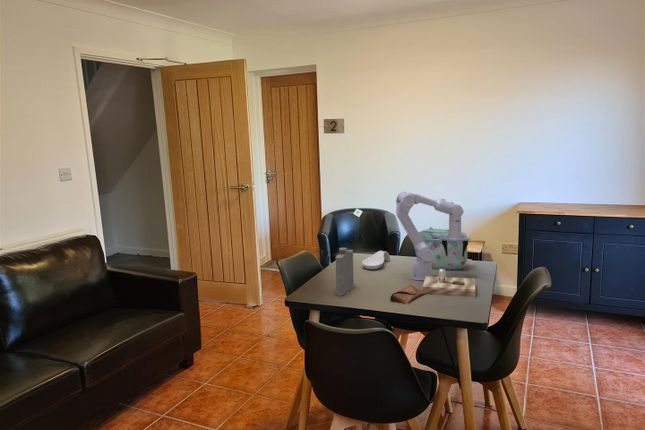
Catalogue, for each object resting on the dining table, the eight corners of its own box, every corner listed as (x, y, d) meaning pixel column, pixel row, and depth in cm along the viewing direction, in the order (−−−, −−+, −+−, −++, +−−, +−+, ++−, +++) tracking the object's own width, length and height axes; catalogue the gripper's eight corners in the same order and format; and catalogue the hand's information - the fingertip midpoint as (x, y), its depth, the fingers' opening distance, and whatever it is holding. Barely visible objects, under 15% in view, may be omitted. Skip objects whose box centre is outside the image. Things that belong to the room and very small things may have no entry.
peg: (437, 290, 205) (437, 270, 203) (437, 287, 209) (437, 267, 207) (446, 290, 204) (446, 270, 202) (446, 287, 207) (446, 268, 206)
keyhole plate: (422, 293, 201) (422, 286, 200) (425, 282, 216) (425, 275, 215) (475, 296, 194) (475, 289, 194) (474, 285, 210) (474, 278, 209)
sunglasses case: (407, 305, 187) (400, 290, 188) (395, 310, 191) (388, 295, 193) (427, 293, 201) (420, 279, 202) (415, 298, 205) (408, 285, 206)
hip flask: (342, 296, 200) (341, 252, 197) (333, 295, 202) (332, 251, 199) (354, 286, 214) (353, 244, 211) (346, 285, 216) (345, 244, 213)
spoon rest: (377, 272, 236) (377, 259, 235) (357, 270, 243) (357, 256, 241) (396, 262, 256) (396, 249, 255) (377, 259, 262) (377, 247, 261)
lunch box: (413, 268, 242) (413, 228, 238) (417, 263, 251) (417, 225, 248) (465, 272, 231) (466, 230, 228) (467, 266, 241) (468, 227, 237)
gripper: (439, 230, 219) (439, 257, 221) (470, 230, 215) (470, 258, 217) (439, 227, 226) (439, 253, 228) (470, 227, 222) (470, 254, 224)
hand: (454, 255), depth 223 cm, fingers open, 7 cm apart
